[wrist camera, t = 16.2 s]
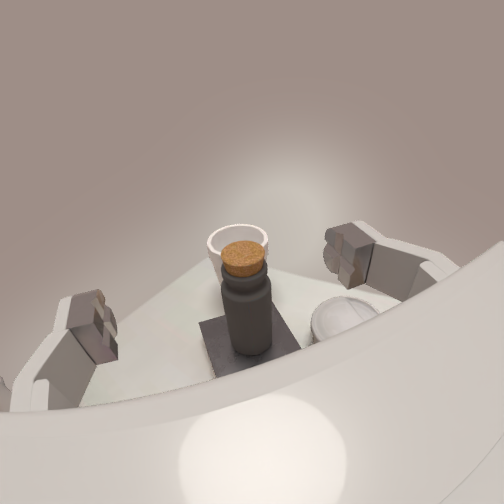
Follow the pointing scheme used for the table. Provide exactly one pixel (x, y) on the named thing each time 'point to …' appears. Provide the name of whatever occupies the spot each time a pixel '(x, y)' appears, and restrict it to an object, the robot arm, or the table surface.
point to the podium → (233, 361)
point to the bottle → (247, 297)
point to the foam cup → (231, 235)
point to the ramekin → (339, 316)
